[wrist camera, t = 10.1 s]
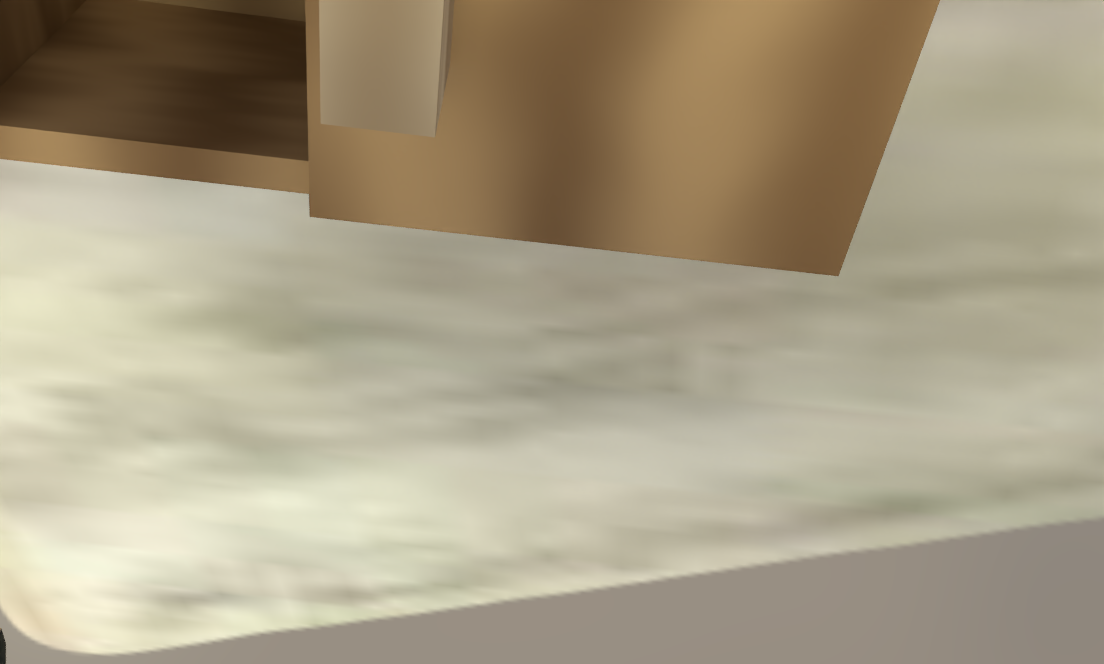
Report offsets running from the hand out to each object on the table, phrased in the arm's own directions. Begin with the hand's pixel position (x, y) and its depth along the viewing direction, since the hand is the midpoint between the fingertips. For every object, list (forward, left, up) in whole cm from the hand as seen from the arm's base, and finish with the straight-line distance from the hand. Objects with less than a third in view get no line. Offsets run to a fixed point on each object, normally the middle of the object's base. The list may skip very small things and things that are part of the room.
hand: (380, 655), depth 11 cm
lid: (-3, -1, -18) cm, 18 cm away
